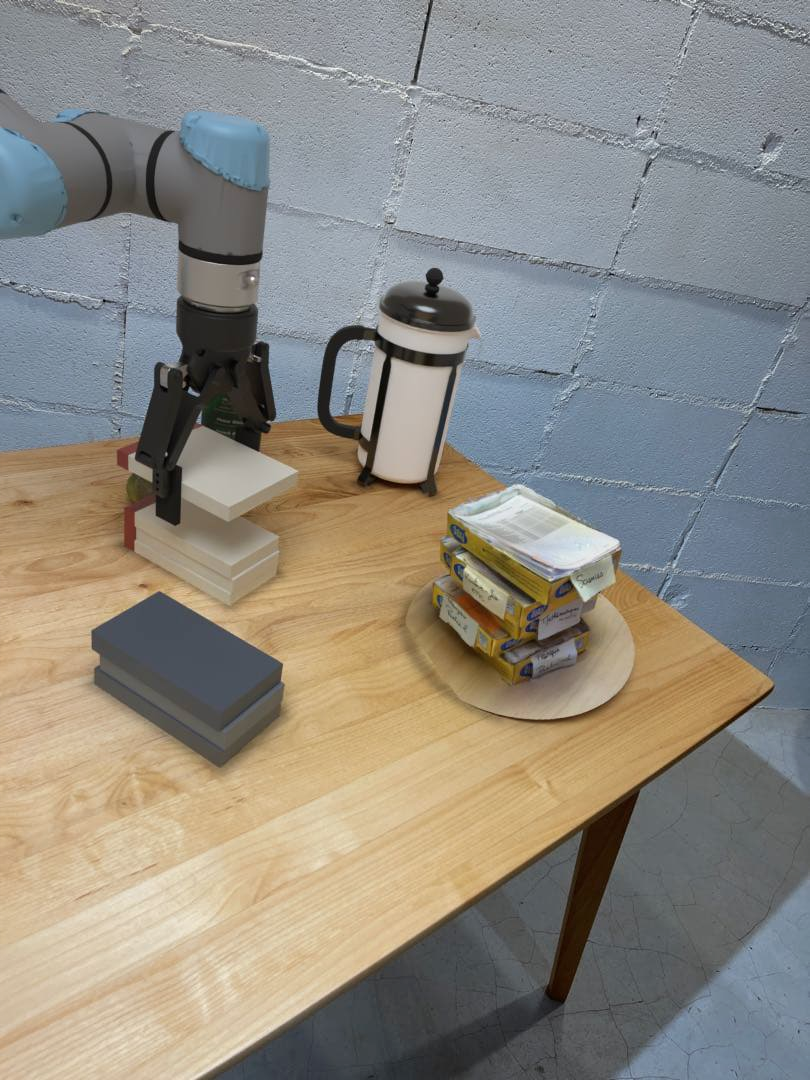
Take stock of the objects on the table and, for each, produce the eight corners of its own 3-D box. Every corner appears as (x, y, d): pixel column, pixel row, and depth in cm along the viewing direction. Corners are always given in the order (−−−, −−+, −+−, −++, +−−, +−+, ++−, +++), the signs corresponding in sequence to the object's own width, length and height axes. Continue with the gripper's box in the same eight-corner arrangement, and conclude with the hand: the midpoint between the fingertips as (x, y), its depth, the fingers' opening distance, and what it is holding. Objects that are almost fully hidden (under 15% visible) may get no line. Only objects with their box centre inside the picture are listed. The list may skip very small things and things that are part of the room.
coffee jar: (254, 494, 107) (267, 360, 97) (192, 485, 106) (200, 350, 96) (261, 460, 115) (274, 333, 105) (204, 452, 114) (212, 323, 104)
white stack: (123, 547, 92) (123, 507, 89) (175, 521, 98) (177, 483, 96) (229, 608, 87) (232, 567, 84) (277, 576, 93) (282, 537, 90)
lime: (165, 496, 103) (166, 461, 100) (162, 517, 99) (163, 481, 96) (128, 494, 102) (128, 458, 99) (124, 514, 98) (123, 478, 95)
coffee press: (393, 440, 128) (430, 246, 113) (465, 487, 120) (517, 283, 104) (305, 461, 117) (333, 249, 101) (378, 515, 108) (421, 292, 93)
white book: (116, 465, 85) (116, 449, 84) (192, 435, 93) (193, 420, 92) (227, 522, 79) (229, 506, 78) (297, 485, 88) (299, 470, 87)
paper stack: (467, 746, 76) (512, 606, 67) (372, 588, 94) (397, 461, 86) (669, 704, 87) (730, 578, 78) (548, 569, 105) (586, 454, 96)
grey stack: (92, 686, 74) (90, 630, 70) (158, 643, 80) (160, 590, 77) (219, 771, 69) (224, 715, 65) (280, 718, 75) (287, 664, 71)
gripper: (154, 335, 66) (151, 557, 78) (323, 292, 84) (301, 477, 96) (89, 307, 69) (96, 526, 80) (267, 271, 87) (251, 454, 98)
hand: (207, 500), depth 88 cm, fingers closed on white book, 11 cm apart
